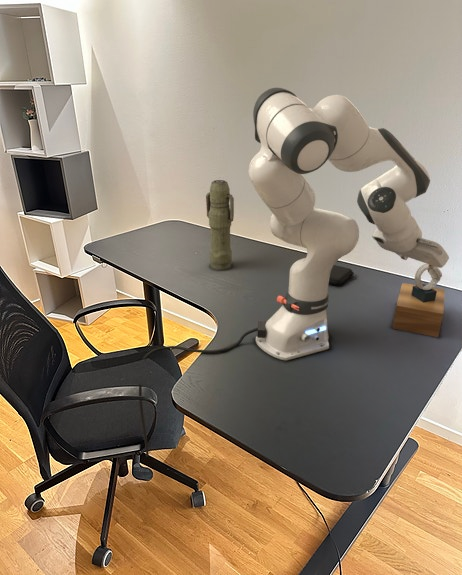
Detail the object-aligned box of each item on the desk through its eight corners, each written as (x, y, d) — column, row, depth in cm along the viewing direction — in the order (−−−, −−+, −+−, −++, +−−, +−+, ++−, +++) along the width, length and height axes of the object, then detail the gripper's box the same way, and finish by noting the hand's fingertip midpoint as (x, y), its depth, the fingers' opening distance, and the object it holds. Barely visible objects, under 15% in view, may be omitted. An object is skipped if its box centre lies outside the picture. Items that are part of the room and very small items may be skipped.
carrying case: (341, 289, 161) (356, 275, 172) (342, 281, 160) (357, 268, 171) (315, 282, 167) (331, 269, 178) (316, 274, 166) (332, 262, 177)
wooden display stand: (438, 337, 131) (443, 313, 127) (392, 328, 136) (396, 305, 132) (439, 311, 146) (444, 289, 142) (398, 303, 151) (402, 282, 147)
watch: (440, 299, 136) (447, 266, 131) (418, 303, 133) (425, 270, 129) (427, 291, 141) (433, 260, 136) (406, 295, 138) (412, 263, 134)
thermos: (212, 260, 188) (210, 177, 173) (238, 264, 183) (238, 180, 168) (203, 267, 181) (200, 182, 166) (229, 272, 176) (228, 184, 161)
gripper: (445, 235, 110) (459, 264, 119) (379, 217, 126) (396, 244, 134) (431, 255, 109) (446, 283, 118) (367, 235, 125) (384, 260, 134)
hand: (419, 262), depth 126 cm, fingers open, 8 cm apart
